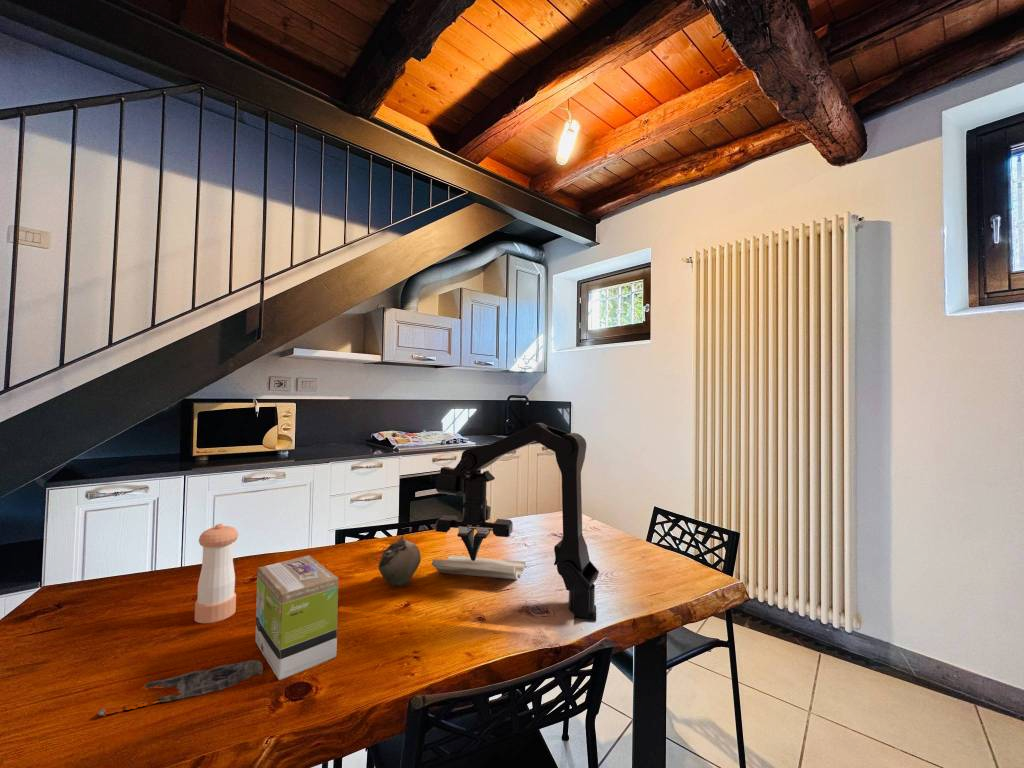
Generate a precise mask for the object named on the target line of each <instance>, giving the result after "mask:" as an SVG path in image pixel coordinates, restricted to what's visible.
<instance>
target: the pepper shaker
mask: <svg viewBox="0 0 1024 768" xmlns="http://www.w3.org/2000/svg"><path fill="white" fill-rule="evenodd" d="M238 536H239V533H238V530H237V529H236V528H235V527H232V526H228V525H224V524H223V523H217V524H216V525H214V526H213V527H211V528H208V529H206V530H204V531H203V532H202V533H201V534H200V536H199V538H198V543H199V545H200V546H201V547H202V559H201V560H202V561H201V570H200V573H199V580H198V583H197V599H196V600H195V603H194V619H193V620H194V622H196V623H199V624H212V623H216V622H221V621H224V620H226V619H227V618H230V617H232V616H233V615H234V614H235V613H236V608H237V607H236V606H237V593H236V592H235V587H236V573H235V565H234V543H235V542H236V541H237V539H238Z"/></svg>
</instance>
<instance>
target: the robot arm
mask: <svg viewBox="0 0 1024 768" xmlns="http://www.w3.org/2000/svg"><path fill="white" fill-rule="evenodd" d="M586 441H587V440H586V439H585V438H584V437H583V436H582V434H579V433H578V432H577V433H575V432H573V433H568V432H566V431H563V430H561V429H559V428H558V429H557V428H555V427H552V426H549V425H547V424H545V423H543V422H537V423H532V424H530V425H529V426H528V427H526V428H523V429H521V430H519V431H517V432H514V433H512V434H510V435H507V436H505V437H503V438H500V439H498V440H497V441H494V442H492V443H489V444H484V445H478V446H475V447H471V448H466V449H465V450H463V451H462V453H461V457H460V460H459V462H458V463H457V465H456V466H455V467H449V466H443V467H440V472H439V473H438V475H437V476H436V480H435V481H434V487H435V490H436V493H439V494H446V495H450V496H451V495H453V496H461V495H462V494H463V503H461V504H462V506H461V507H462V509H463V510H462V511H463V513H462V514H463V515H462V517H463V518H462V520H459V519H458V517H457V515H446V514H444V515H442V516H441V517H440V518H438V519H437V520H436V521H435V522H436V523H435V528H434V529H435V532H438V533H448V532H449V531H450V530H451V528H453V529H458V533H457V534H456V535H457V537H459V538H461V540H462V542H463V544H464V546H465V547H466V549H467V550H466V551H467V553H468V556H469V557H470V558H471V560H472V561H475V560H476V558H478V557H477V556H478V555H479V554H478V553H479V551H480V548H481V545H482V542H483V540H484V539H487V538H488V536H489V535H490V533H491V531H492V533H493V536H495V537H501V538H502V537H503V538H509V537H510V536H511V534H512V532H513V529H514V528H513V527H514V526H513V521H512V520H511V519H503V518H496V520H495V521H494V522H487V521H489V520H490V519H491V510H492V509H491V508H492V507H491V506H489V505H488V499H487V487H488V486H487V483H489V482H492V481H494V480H495V479H496V478H495V476H493V474H491V473H490V471H489V470H485V471H483V472H482V473H481V472H477V471H480V470H484V469H486V468H488V467H489V466H491V465H492V464H494V463H495V462H496V461H498V460H499V459H500V458H502V457H504V456H506V455H507V454H510V453H512V452H514V451H515V452H516V451H517V450H519V449H522V448H524V447H526V446H529V445H530V444H532V443H535V442H538V443H539V444H540V445H542V446H543V447H545V448H546V449H548V450H550V451H553V452H554V454H555V460H556V463H557V466H558V470H559V471H560V476H561V501H562V502H561V507H562V508H561V513H562V538H561V540H559V541H558V543H557V544H555V545H554V546H553V547H554V548H553V549H554V550H553V551H554V556H555V559H554V563H553V565H554V566H556V569H557V573H558V575H559V576H560V577H561V578H562V579H563V584H564V586H565V589H566V591H568V610H569V611H570V612H571V613H572V614H573V619H574V620H581V621H591V622H597V606H596V604H595V602H596V601H595V600H596V599H595V598H596V596H595V594H596V593H595V592H596V585H595V584H594V583H595V581H597V579H598V577H599V574H600V571H599V569H598V568H597V567H596V566H595V565H594V564H593V563H592V561H591V560H590V555H589V550H588V546H587V543H586V540H585V538H584V534H583V509H582V503H583V501H582V470H583V467H584V464H585V463H584V462H585V459H586V453H587V452H586V451H587V442H586ZM472 472H473V473H472ZM469 473H471V474H469ZM467 474H468V475H467ZM475 531H476V533H475Z"/></svg>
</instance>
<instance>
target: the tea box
mask: <svg viewBox="0 0 1024 768" xmlns="http://www.w3.org/2000/svg"><path fill="white" fill-rule="evenodd" d="M338 604H339V577H338V576H337V575H335V574H333V573H332V572H331V571H330V570H328V569H327V568H326V567H325V566H323V564H321V563H320V562H318V561H317V560H316V559H315V558H313V557H312V556H311V555H309V554H307V555H304V556H299V557H295V558H291V559H288V560H284V561H279V562H276V563H272V564H269V565H264V566H258V567H257V572H256V607H255V608H256V610H255V643H256V644H257V647H258V649H259V650H260V651H261V654H262V655H263V657H264V658H265V660H266V662H267V663H268V665H269V667H270V668H271V669H272V671H273V673H274V675H275V676H276V678H277V679H278V681H282V680H284V679H286V678H289V677H291V676H294V675H296V674H298V673H301V672H304V671H307V670H308V669H311V668H314V667H316V666H318V665H320V664H323V663H326V662H328V661H330V660H332V659H335V658H336V657H337V647H338V610H339V609H338V607H339V606H338Z"/></svg>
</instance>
